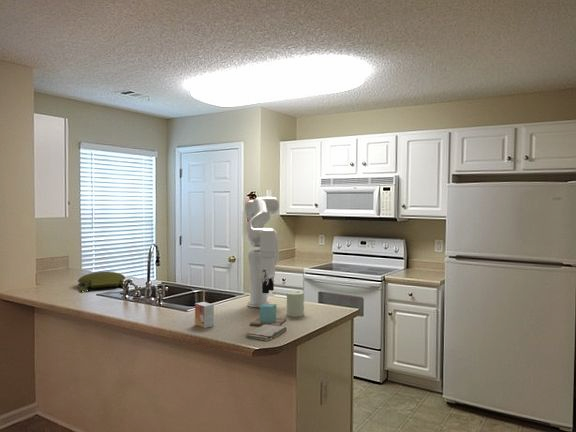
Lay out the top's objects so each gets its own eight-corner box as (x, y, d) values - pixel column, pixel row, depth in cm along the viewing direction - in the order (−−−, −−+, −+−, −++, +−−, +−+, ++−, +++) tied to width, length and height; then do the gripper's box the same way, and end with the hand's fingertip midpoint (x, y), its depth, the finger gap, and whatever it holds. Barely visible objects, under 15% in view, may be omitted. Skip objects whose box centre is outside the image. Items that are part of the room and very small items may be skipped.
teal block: (264, 318, 226) (264, 303, 225) (276, 319, 224) (276, 304, 224) (259, 322, 220) (259, 306, 220) (272, 323, 218) (272, 307, 218)
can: (307, 313, 240) (307, 291, 239) (298, 317, 232) (298, 294, 231) (292, 311, 244) (291, 289, 244) (283, 315, 236) (283, 292, 236)
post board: (259, 318, 230) (259, 303, 230) (285, 320, 226) (285, 305, 226) (249, 325, 218) (249, 310, 217) (277, 327, 214) (277, 312, 213)
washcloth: (244, 339, 198) (244, 332, 198) (264, 328, 215) (264, 322, 214) (268, 342, 193) (268, 335, 193) (287, 331, 209) (287, 325, 209)
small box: (194, 325, 219) (194, 303, 219) (204, 322, 223) (204, 301, 223) (204, 328, 214) (204, 306, 213) (214, 326, 217) (213, 304, 217)
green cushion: (130, 289, 310) (129, 274, 309) (80, 293, 295) (80, 278, 295) (121, 280, 340) (121, 267, 340) (76, 284, 325) (76, 271, 325)
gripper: (266, 252, 230) (266, 287, 231) (254, 256, 213) (254, 294, 214) (280, 253, 228) (280, 288, 228) (269, 257, 211) (269, 295, 212)
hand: (268, 291), depth 221 cm, fingers open, 6 cm apart
